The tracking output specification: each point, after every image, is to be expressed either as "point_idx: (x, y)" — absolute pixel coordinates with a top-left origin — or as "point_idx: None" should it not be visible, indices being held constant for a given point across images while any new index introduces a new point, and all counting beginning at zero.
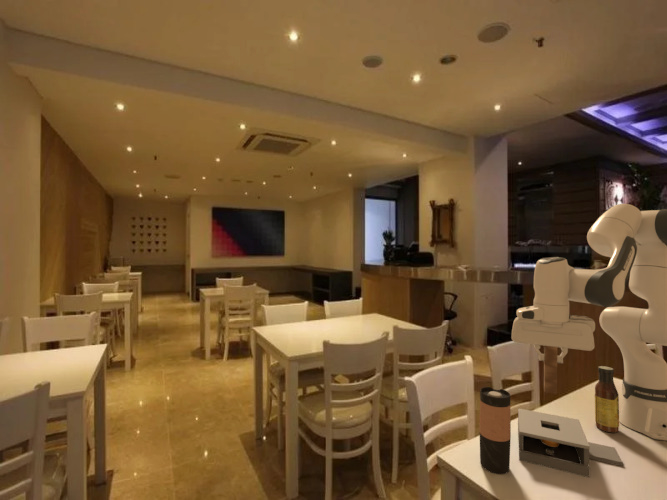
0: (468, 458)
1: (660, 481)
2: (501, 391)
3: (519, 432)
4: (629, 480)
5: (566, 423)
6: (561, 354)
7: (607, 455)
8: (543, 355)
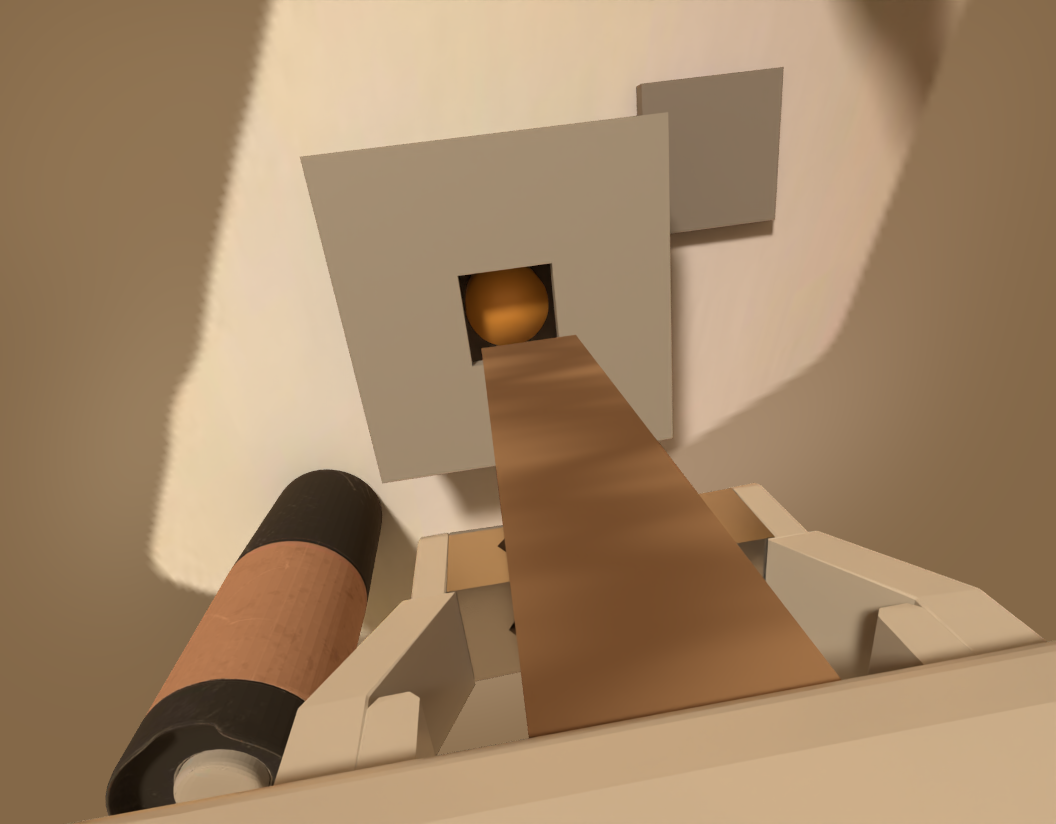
0: (233, 523)
1: (863, 260)
2: (234, 726)
3: (383, 481)
4: (759, 322)
5: (593, 229)
6: (808, 620)
7: (729, 189)
8: (505, 668)
